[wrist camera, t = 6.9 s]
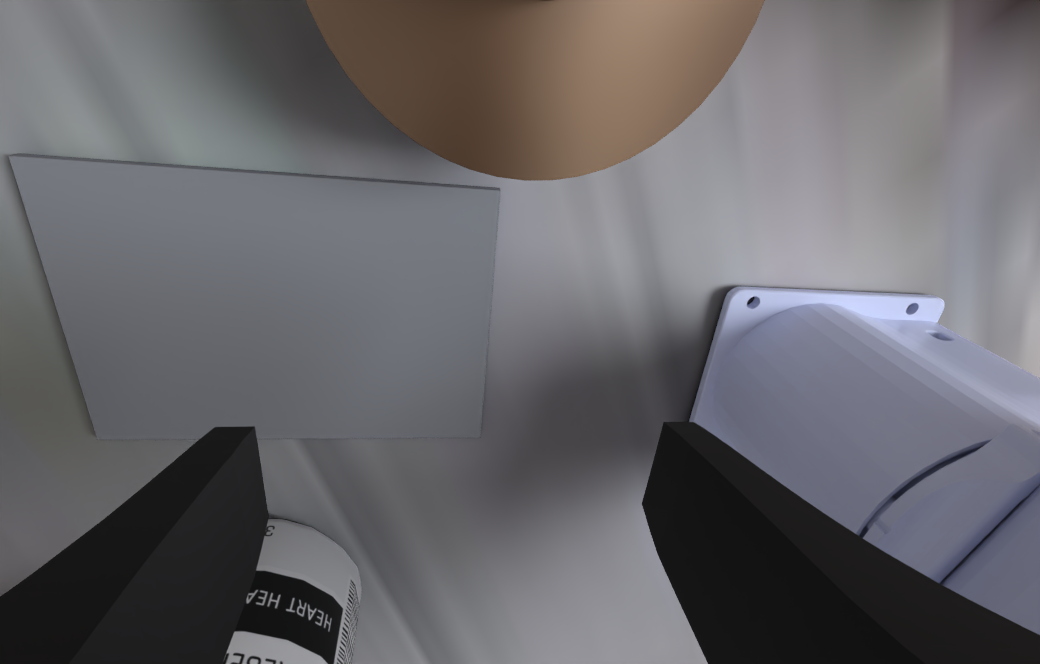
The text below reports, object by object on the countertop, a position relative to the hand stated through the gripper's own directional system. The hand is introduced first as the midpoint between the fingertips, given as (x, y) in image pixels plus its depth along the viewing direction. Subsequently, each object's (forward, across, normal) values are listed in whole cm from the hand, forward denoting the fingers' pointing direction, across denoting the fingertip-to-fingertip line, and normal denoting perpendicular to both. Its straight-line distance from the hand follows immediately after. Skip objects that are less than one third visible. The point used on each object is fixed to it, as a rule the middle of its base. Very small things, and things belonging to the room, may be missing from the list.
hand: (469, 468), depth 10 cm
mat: (+10, +6, +2) cm, 12 cm away
